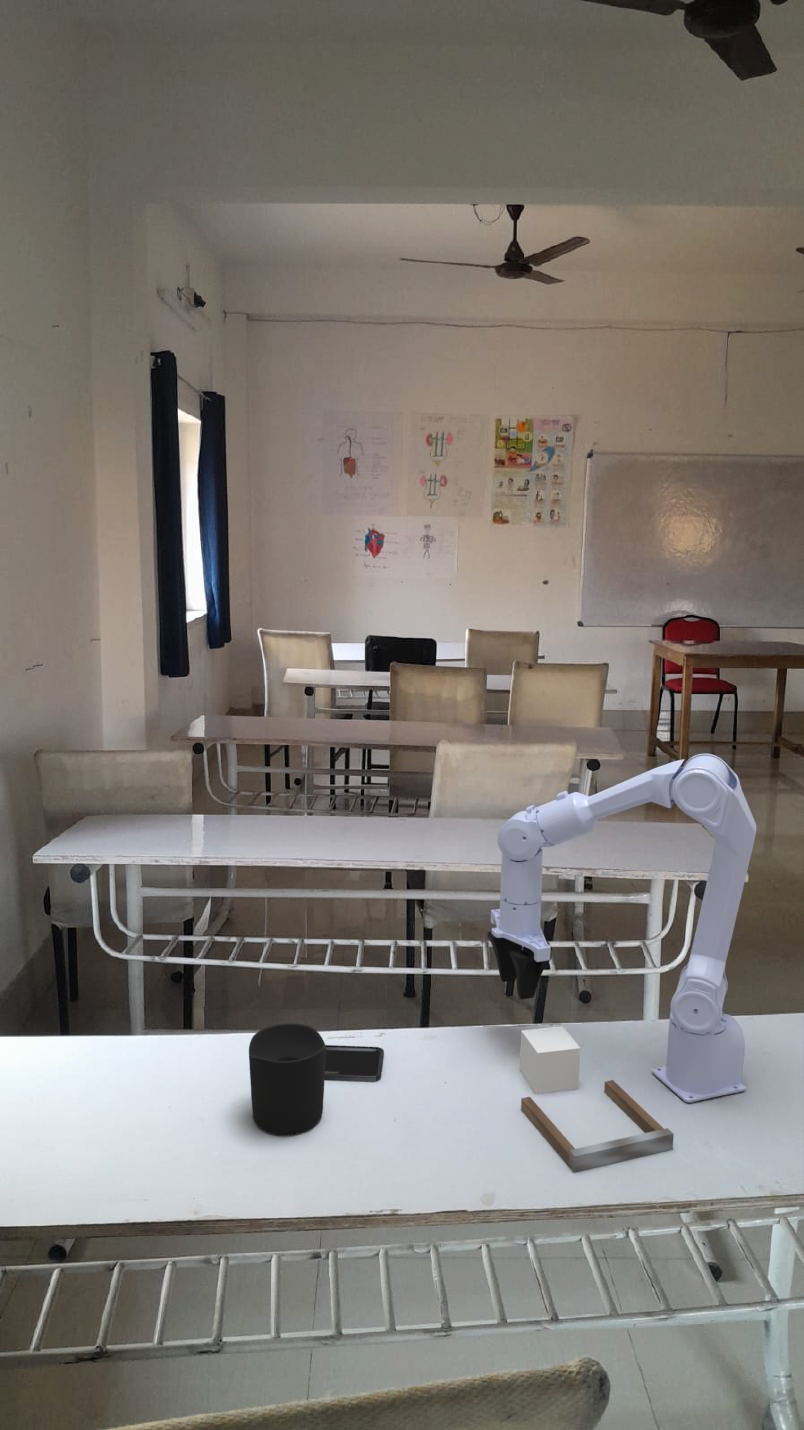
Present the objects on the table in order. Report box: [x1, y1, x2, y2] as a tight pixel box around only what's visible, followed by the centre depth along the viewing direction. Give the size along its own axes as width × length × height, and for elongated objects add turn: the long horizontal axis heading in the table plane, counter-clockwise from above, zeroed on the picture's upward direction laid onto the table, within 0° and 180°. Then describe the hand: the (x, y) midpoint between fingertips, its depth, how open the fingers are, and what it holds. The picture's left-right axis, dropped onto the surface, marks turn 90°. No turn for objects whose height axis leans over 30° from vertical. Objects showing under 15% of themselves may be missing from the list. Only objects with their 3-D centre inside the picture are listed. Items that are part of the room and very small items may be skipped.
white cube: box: [519, 1025, 581, 1095], centre depth 129 cm, size 6×6×6 cm
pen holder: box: [248, 1023, 327, 1137], centre depth 119 cm, size 9×9×10 cm
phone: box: [324, 1044, 385, 1083], centre depth 132 cm, size 8×1×15 cm
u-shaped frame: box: [520, 1079, 675, 1173], centre depth 119 cm, size 13×13×2 cm
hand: (517, 988), depth 137 cm, fingers open, 5 cm apart
